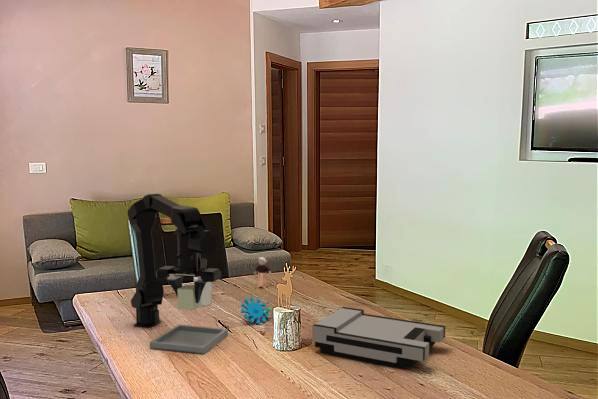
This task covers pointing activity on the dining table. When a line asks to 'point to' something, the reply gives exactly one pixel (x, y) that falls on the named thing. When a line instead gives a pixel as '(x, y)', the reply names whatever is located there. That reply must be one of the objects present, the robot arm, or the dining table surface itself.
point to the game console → (375, 338)
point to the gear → (255, 310)
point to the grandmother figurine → (262, 273)
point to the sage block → (187, 298)
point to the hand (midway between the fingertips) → (189, 302)
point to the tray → (189, 339)
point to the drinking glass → (205, 293)
